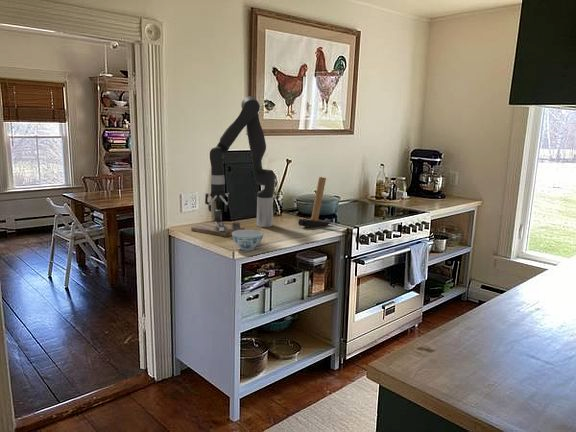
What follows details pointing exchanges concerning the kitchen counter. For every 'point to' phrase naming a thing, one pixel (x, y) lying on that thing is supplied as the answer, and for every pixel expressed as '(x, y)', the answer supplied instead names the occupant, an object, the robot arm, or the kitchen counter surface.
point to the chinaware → (247, 238)
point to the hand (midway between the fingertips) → (218, 211)
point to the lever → (218, 220)
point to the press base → (212, 229)
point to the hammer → (316, 208)
